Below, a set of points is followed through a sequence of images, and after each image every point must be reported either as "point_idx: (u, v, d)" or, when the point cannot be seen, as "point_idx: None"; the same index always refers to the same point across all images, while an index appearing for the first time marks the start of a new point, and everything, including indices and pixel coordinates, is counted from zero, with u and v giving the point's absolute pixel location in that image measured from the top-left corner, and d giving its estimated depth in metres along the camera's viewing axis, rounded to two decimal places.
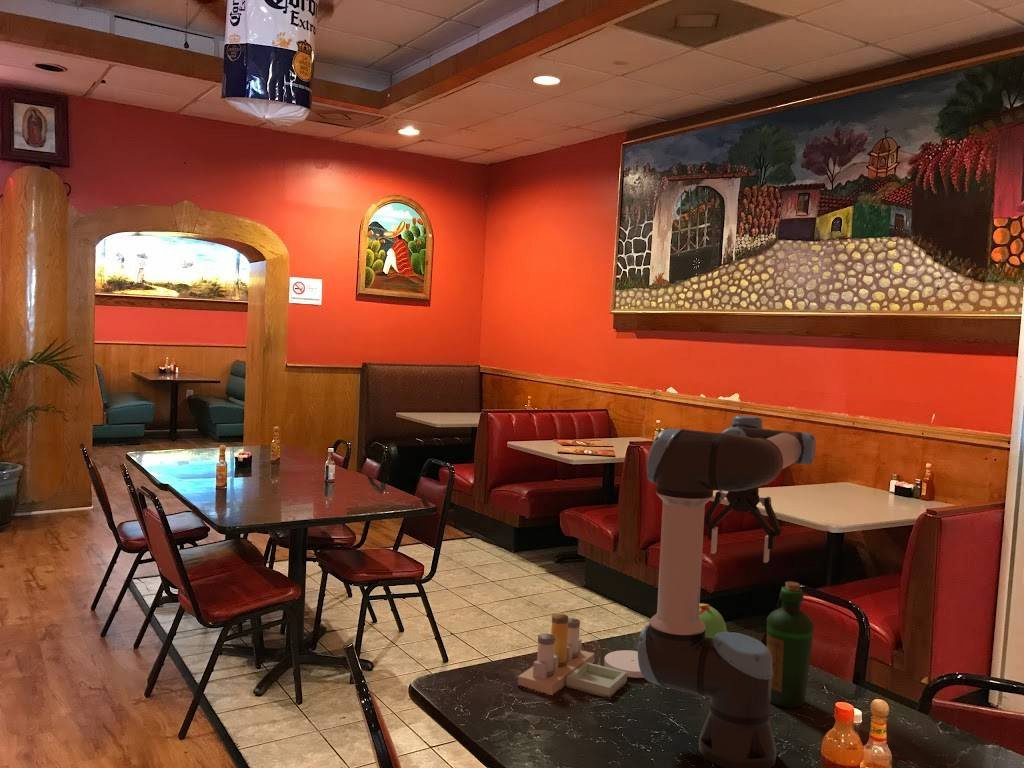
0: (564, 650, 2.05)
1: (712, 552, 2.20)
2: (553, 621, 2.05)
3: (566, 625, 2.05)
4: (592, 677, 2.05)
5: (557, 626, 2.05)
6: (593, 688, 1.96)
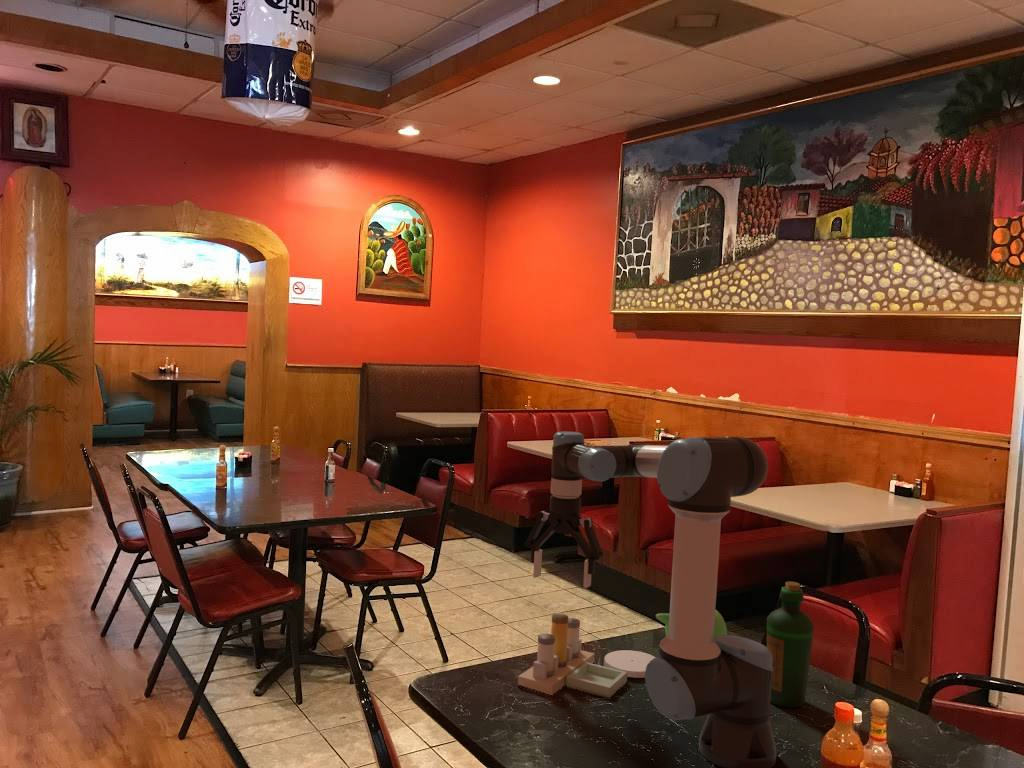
0: (564, 650, 2.05)
1: (534, 576, 2.08)
2: (553, 621, 2.05)
3: (566, 625, 2.05)
4: (592, 677, 2.05)
5: (557, 626, 2.05)
6: (593, 688, 1.96)
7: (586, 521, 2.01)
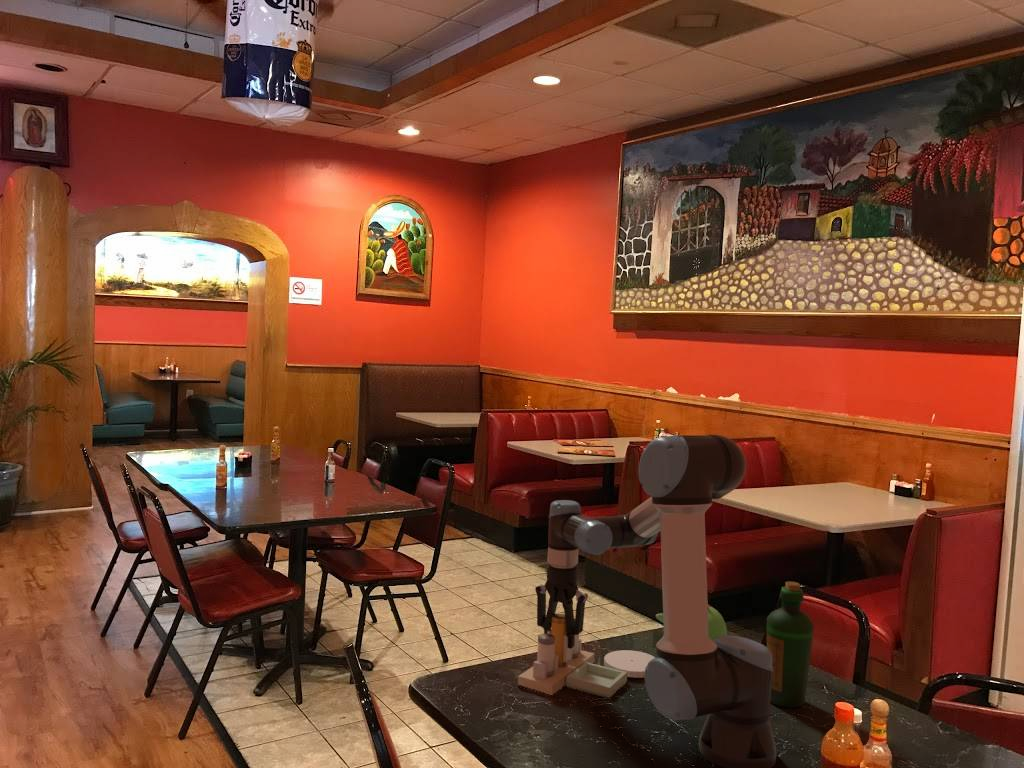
0: None
1: None
2: (553, 621, 2.05)
3: None
4: (592, 677, 2.05)
5: (557, 626, 2.05)
6: (593, 688, 1.96)
7: (582, 597, 2.02)
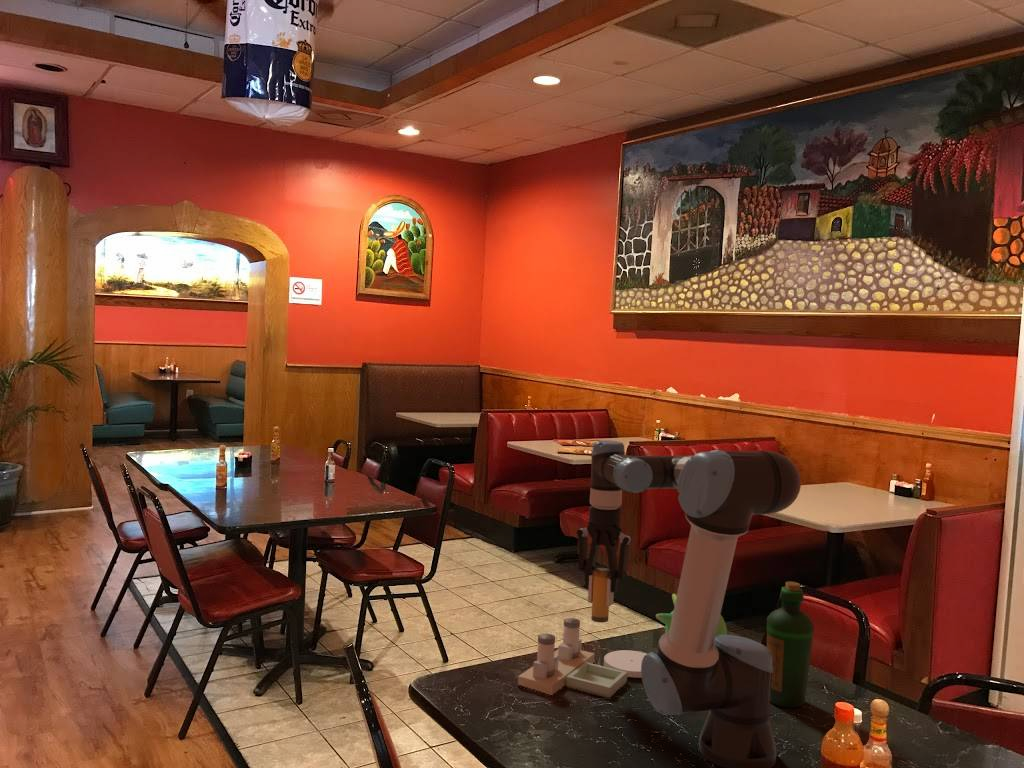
0: None
1: (589, 601, 2.01)
2: (595, 575, 2.00)
3: None
4: (592, 677, 2.05)
5: (599, 580, 1.99)
6: (593, 688, 1.96)
7: (626, 539, 1.96)
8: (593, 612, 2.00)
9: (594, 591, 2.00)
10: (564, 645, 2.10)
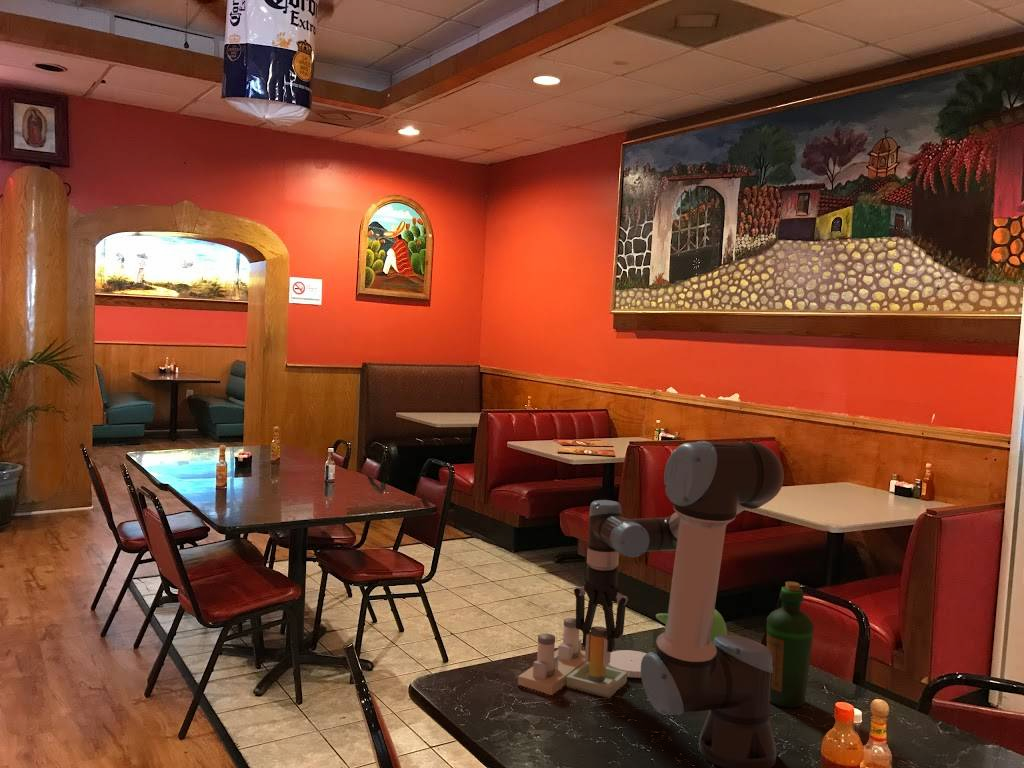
0: None
1: (586, 660, 2.02)
2: (592, 634, 2.00)
3: None
4: None
5: (596, 639, 2.00)
6: (593, 688, 1.96)
7: (623, 600, 1.97)
8: (590, 671, 2.01)
9: (591, 650, 2.01)
10: (564, 645, 2.10)
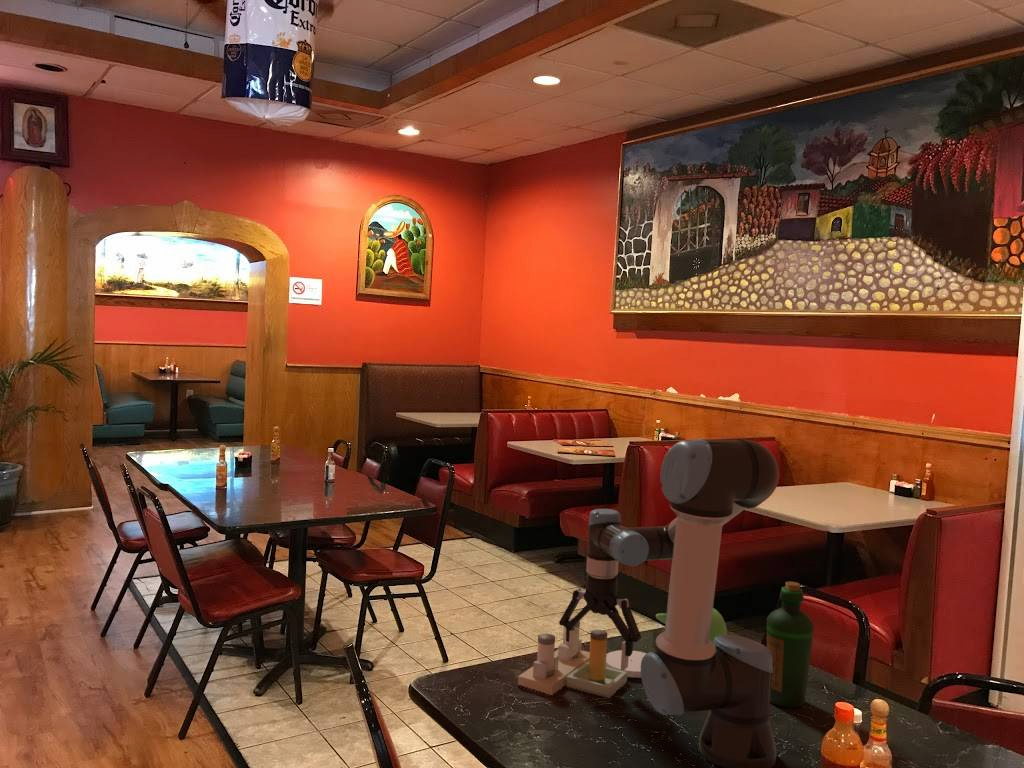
0: (603, 667, 2.01)
1: (570, 655, 2.04)
2: (592, 638, 2.01)
3: (605, 642, 2.00)
4: None
5: (596, 643, 2.00)
6: (593, 688, 1.96)
7: (623, 602, 1.97)
8: (590, 675, 2.01)
9: (591, 654, 2.01)
10: (564, 645, 2.10)
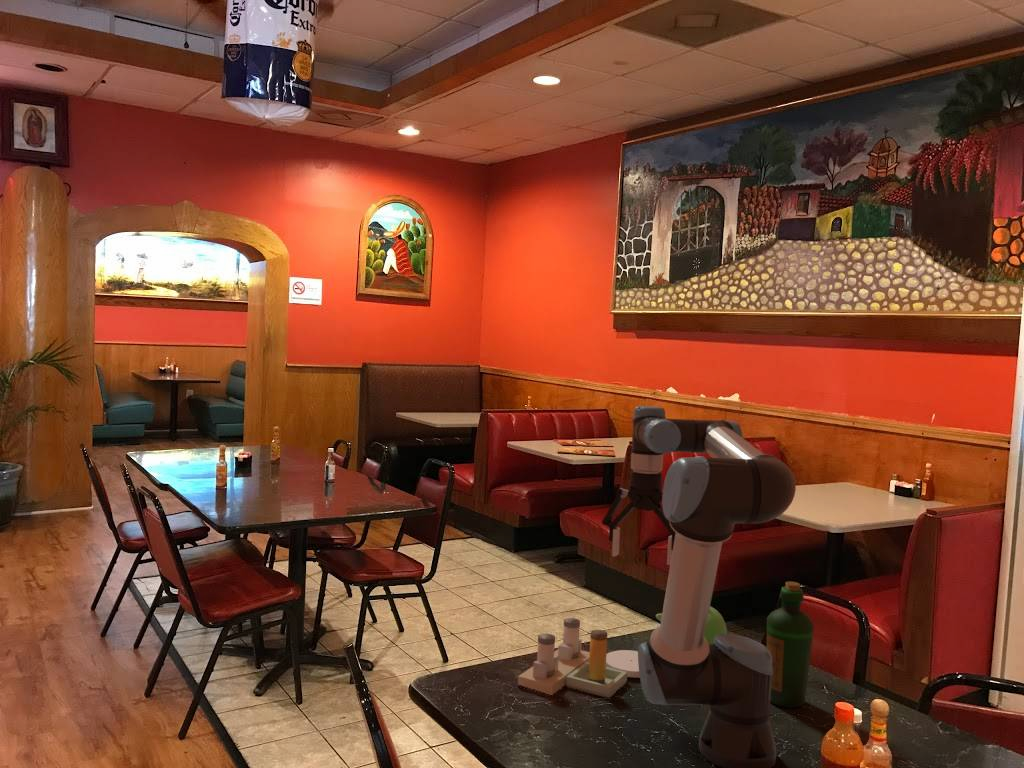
0: (603, 667, 2.01)
1: (613, 554, 2.03)
2: (592, 638, 2.01)
3: (605, 642, 2.00)
4: None
5: (596, 643, 2.00)
6: (593, 688, 1.96)
7: None
8: (590, 675, 2.01)
9: (591, 654, 2.01)
10: (564, 645, 2.10)
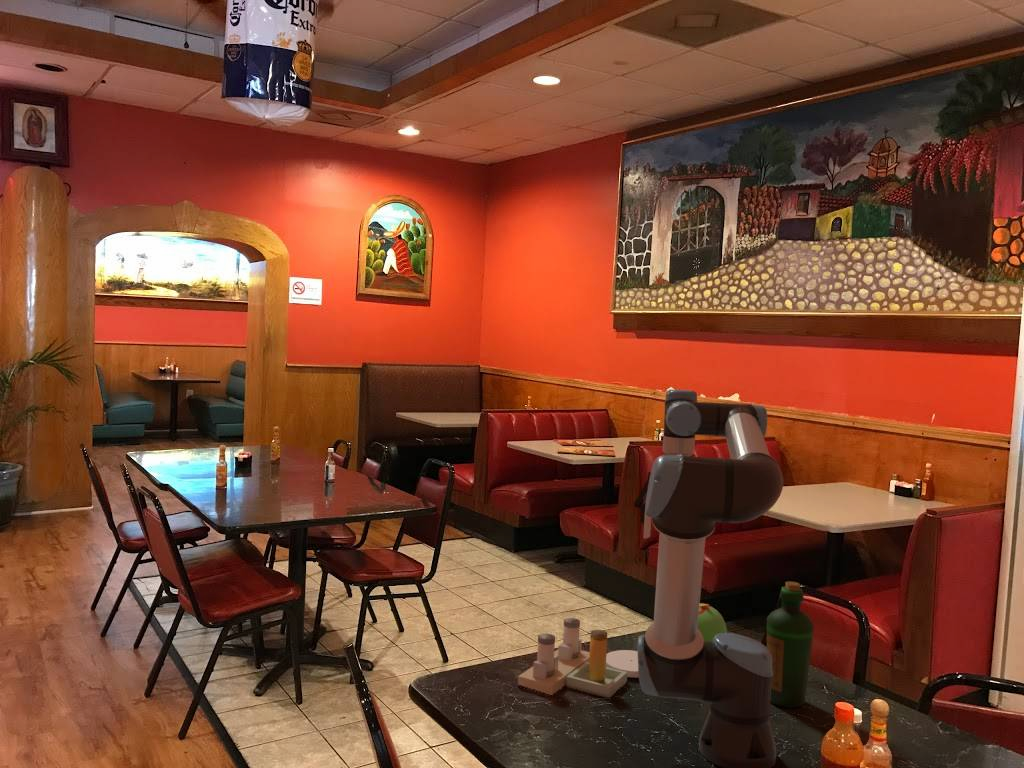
0: (603, 667, 2.01)
1: (645, 536, 2.05)
2: (592, 638, 2.01)
3: (605, 642, 2.00)
4: None
5: (596, 643, 2.00)
6: (593, 688, 1.96)
7: None
8: (590, 675, 2.01)
9: (591, 654, 2.01)
10: (564, 645, 2.10)
